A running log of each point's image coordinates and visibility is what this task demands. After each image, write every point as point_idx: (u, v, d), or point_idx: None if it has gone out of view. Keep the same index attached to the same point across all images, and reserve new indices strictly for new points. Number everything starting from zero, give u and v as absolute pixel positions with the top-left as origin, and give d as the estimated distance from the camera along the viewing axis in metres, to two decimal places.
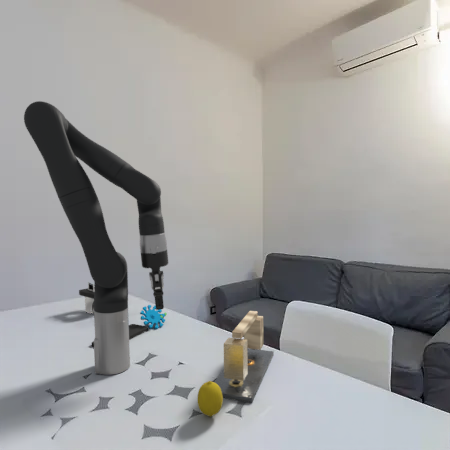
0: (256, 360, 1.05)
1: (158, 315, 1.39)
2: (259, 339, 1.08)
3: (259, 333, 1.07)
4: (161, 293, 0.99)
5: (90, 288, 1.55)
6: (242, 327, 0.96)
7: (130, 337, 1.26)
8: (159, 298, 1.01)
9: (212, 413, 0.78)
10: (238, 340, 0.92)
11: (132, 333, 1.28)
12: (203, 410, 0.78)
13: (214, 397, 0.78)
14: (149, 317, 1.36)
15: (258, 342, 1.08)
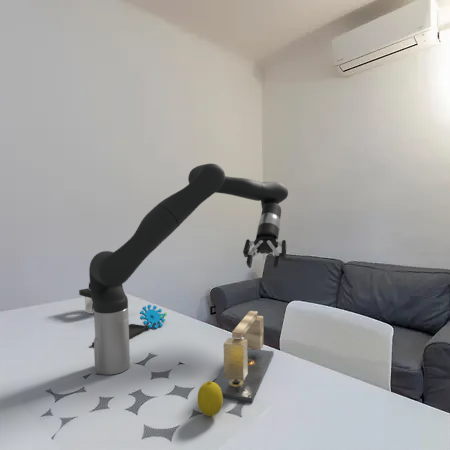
0: (256, 360, 1.05)
1: (158, 315, 1.39)
2: (259, 339, 1.08)
3: (259, 333, 1.07)
4: (285, 256, 1.21)
5: None
6: (242, 327, 0.96)
7: (130, 337, 1.26)
8: None
9: (212, 413, 0.78)
10: (238, 340, 0.92)
11: (132, 333, 1.28)
12: (203, 410, 0.78)
13: (214, 397, 0.78)
14: (149, 317, 1.36)
15: (258, 342, 1.08)
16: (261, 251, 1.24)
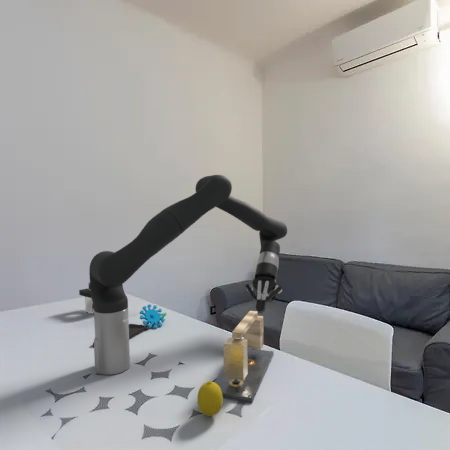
0: (256, 360, 1.05)
1: (158, 315, 1.39)
2: (259, 339, 1.08)
3: (259, 333, 1.07)
4: (272, 300, 1.21)
5: None
6: (242, 327, 0.96)
7: (131, 336, 1.26)
8: None
9: (212, 413, 0.78)
10: (238, 340, 0.92)
11: (132, 332, 1.29)
12: (203, 410, 0.78)
13: (214, 397, 0.78)
14: (148, 317, 1.37)
15: (258, 342, 1.08)
16: None
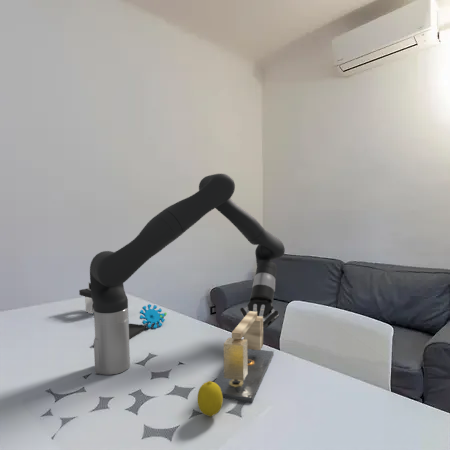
0: (256, 360, 1.05)
1: (158, 315, 1.39)
2: (259, 339, 1.07)
3: (259, 334, 1.07)
4: (267, 325, 1.15)
5: (90, 288, 1.55)
6: (242, 328, 0.95)
7: (131, 336, 1.26)
8: None
9: (212, 413, 0.78)
10: (238, 340, 0.92)
11: (132, 332, 1.29)
12: (203, 410, 0.78)
13: (214, 397, 0.78)
14: (148, 316, 1.37)
15: (257, 343, 1.07)
16: None
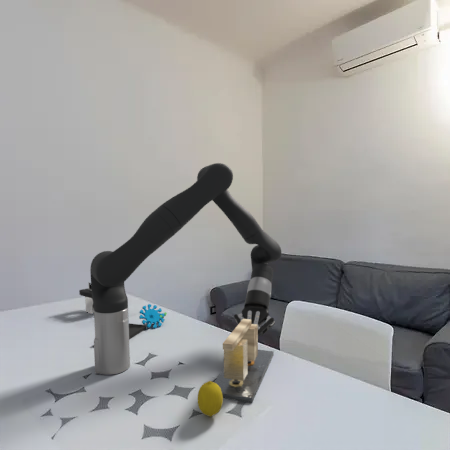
0: (256, 360, 1.05)
1: (157, 315, 1.40)
2: (253, 349, 1.00)
3: (253, 343, 1.00)
4: (263, 333, 1.08)
5: (90, 288, 1.55)
6: (234, 338, 0.89)
7: (131, 336, 1.27)
8: None
9: (212, 413, 0.78)
10: None
11: (132, 332, 1.29)
12: (203, 410, 0.78)
13: (214, 397, 0.78)
14: (148, 316, 1.37)
15: (251, 353, 1.01)
16: None
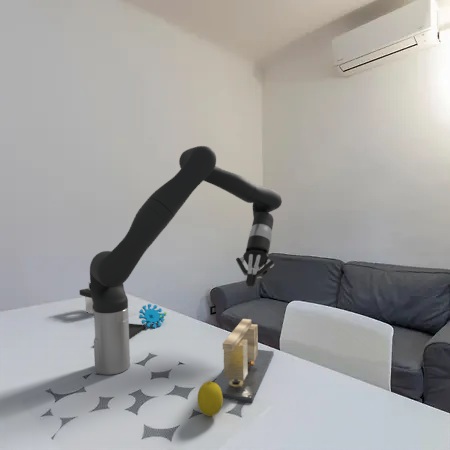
0: (256, 360, 1.05)
1: (157, 314, 1.40)
2: (253, 349, 1.00)
3: (253, 343, 1.00)
4: (263, 274, 1.17)
5: (90, 288, 1.55)
6: (234, 338, 0.89)
7: (131, 335, 1.27)
8: None
9: (212, 413, 0.78)
10: None
11: (132, 332, 1.29)
12: (203, 410, 0.78)
13: (214, 397, 0.78)
14: (148, 316, 1.37)
15: (251, 353, 1.01)
16: None
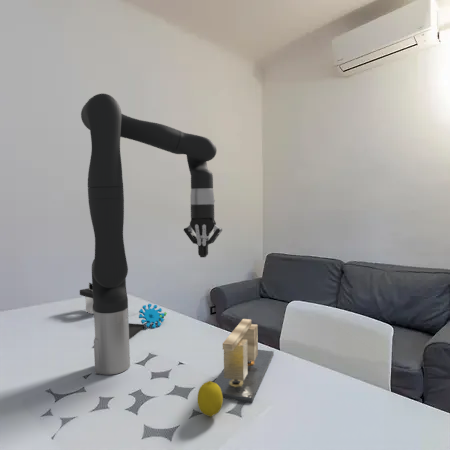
0: (256, 360, 1.05)
1: (157, 314, 1.40)
2: (253, 349, 1.00)
3: (253, 343, 1.00)
4: (213, 241, 1.17)
5: (91, 288, 1.55)
6: (234, 338, 0.89)
7: (132, 335, 1.27)
8: None
9: (212, 413, 0.78)
10: None
11: (132, 331, 1.30)
12: (203, 410, 0.78)
13: (214, 397, 0.78)
14: (147, 316, 1.38)
15: (251, 353, 1.01)
16: None
